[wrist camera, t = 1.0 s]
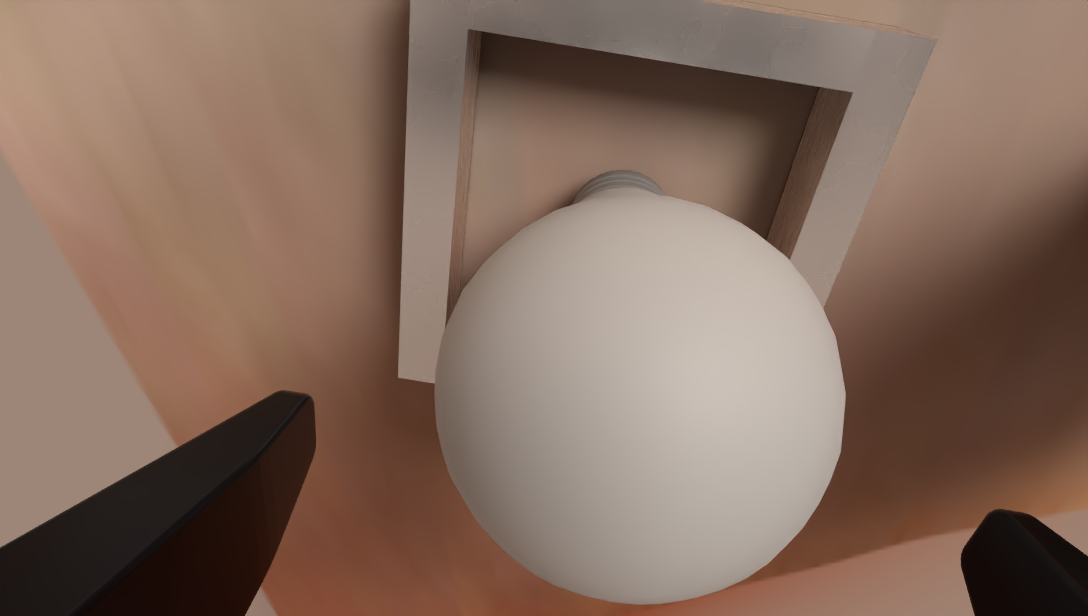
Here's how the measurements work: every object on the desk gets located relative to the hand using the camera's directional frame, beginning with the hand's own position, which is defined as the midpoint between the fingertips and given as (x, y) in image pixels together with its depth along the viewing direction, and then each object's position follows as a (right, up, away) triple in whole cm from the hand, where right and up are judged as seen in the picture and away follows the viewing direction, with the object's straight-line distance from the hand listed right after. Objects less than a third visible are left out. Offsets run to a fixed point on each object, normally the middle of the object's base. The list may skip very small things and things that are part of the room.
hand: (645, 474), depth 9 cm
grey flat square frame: (+1, +5, +8) cm, 10 cm away
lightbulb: (+1, +5, +9) cm, 10 cm away
